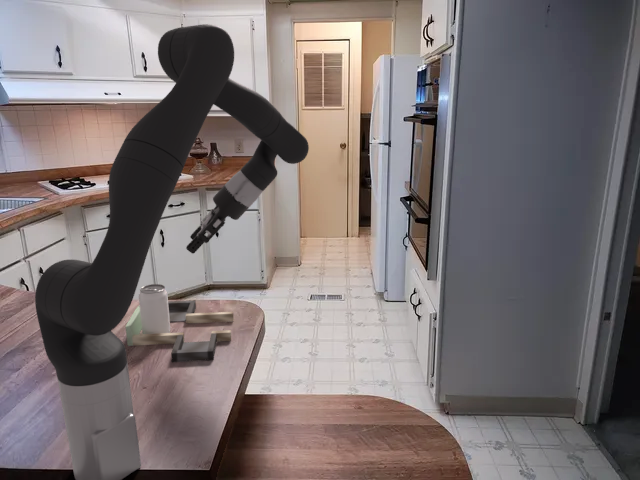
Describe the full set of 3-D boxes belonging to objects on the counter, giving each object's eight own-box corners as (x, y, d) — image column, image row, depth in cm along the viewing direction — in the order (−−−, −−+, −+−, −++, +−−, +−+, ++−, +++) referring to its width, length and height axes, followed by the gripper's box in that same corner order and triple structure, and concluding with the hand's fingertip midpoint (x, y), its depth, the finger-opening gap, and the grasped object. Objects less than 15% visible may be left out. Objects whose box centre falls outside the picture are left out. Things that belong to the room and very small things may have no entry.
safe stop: (144, 323, 117) (143, 305, 115) (133, 345, 106) (130, 326, 104) (140, 323, 117) (138, 305, 115) (127, 345, 106) (125, 326, 104)
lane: (235, 306, 127) (235, 298, 127) (228, 359, 101) (228, 350, 100) (147, 309, 124) (146, 302, 124) (116, 365, 98) (115, 356, 97)
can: (161, 341, 108) (157, 295, 104) (137, 338, 109) (132, 292, 106) (175, 329, 114) (171, 284, 110) (152, 326, 115) (147, 282, 112)
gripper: (226, 178, 110) (182, 226, 111) (224, 189, 96) (174, 244, 98) (249, 199, 112) (206, 246, 114) (251, 212, 99) (201, 265, 100)
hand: (191, 245), depth 106 cm, fingers open, 8 cm apart
